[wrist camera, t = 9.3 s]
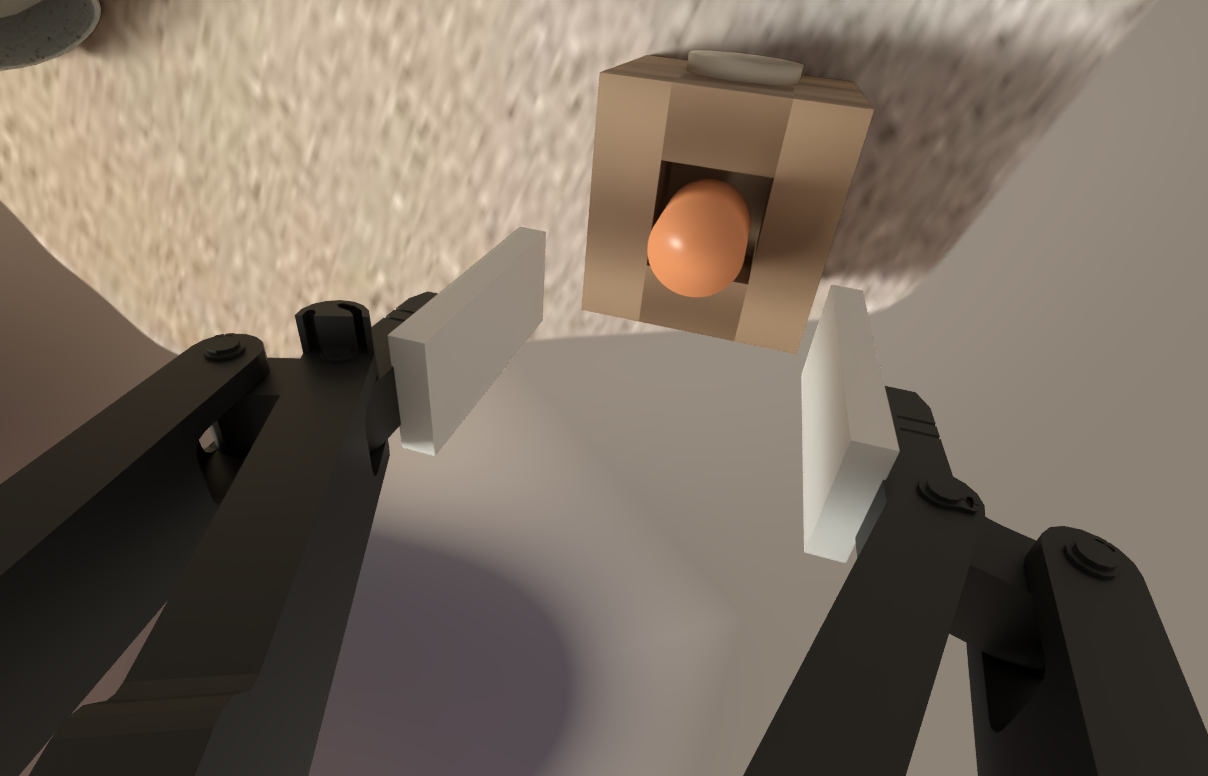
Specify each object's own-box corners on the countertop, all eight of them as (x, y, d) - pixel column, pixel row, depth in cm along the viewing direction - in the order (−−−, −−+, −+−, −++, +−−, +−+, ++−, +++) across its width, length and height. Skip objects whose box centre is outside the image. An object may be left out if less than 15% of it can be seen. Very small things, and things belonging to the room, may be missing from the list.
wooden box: (648, 39, 26) (601, 52, 20) (858, 66, 25) (880, 88, 18) (625, 246, 32) (581, 309, 25) (796, 278, 30) (796, 353, 24)
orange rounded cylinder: (671, 172, 22) (654, 195, 19) (760, 186, 21) (755, 212, 18) (658, 255, 23) (641, 287, 21) (740, 271, 23) (733, 305, 20)
